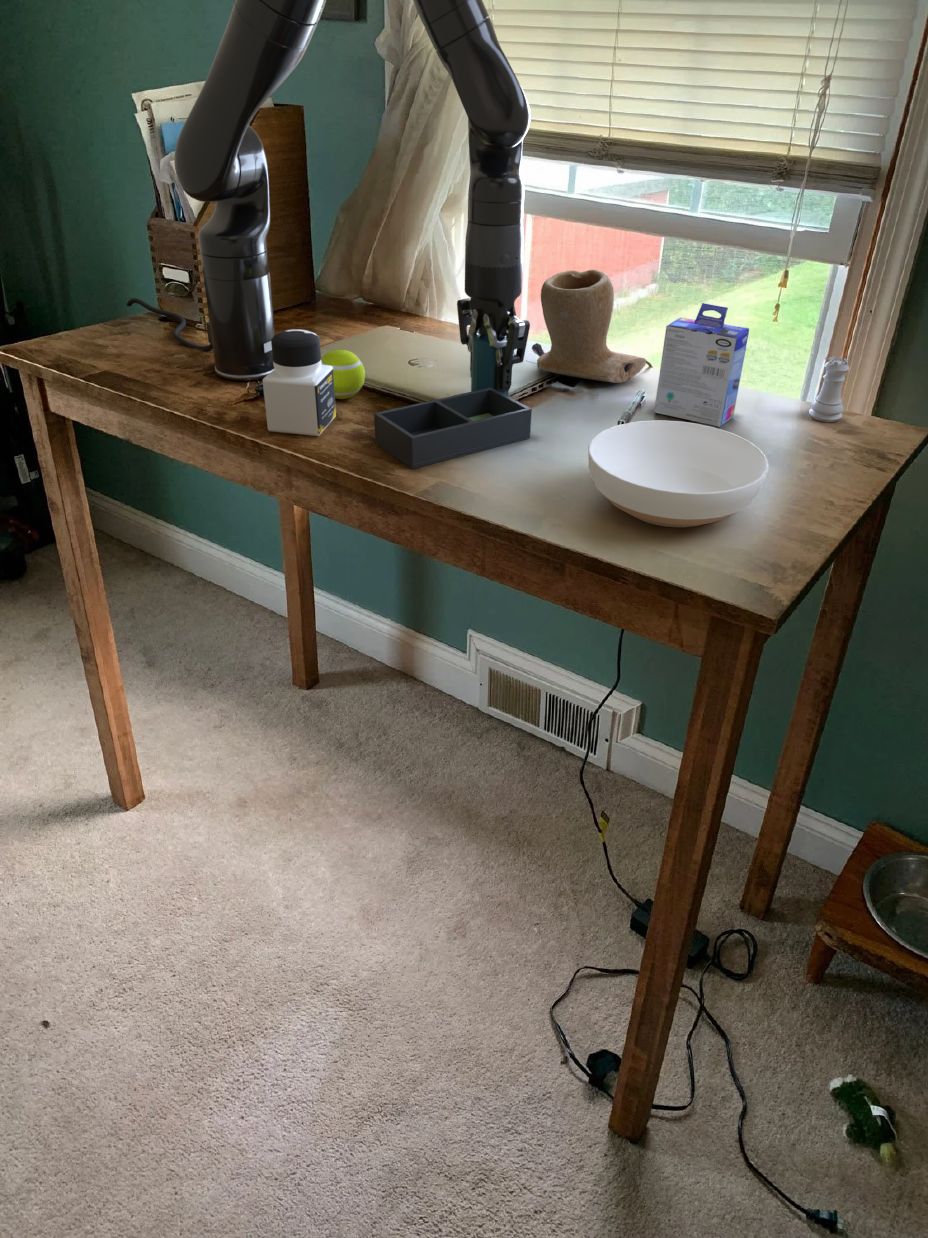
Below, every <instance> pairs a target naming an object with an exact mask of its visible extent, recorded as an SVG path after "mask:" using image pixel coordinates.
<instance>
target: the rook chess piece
mask: <svg viewBox="0 0 928 1238" xmlns="http://www.w3.org/2000/svg"><path fill="white" fill-rule="evenodd" d="M823 366H824V369H825V374H824V375H823V376H822V377H823V382H822V386H821V389H820V392H819V393H818V395H817V396H816V397H815V399H814V400H813V401H812V402H811V403H810V407H811V408H810V409H809V410H808V412H809V416H810V417H811V418H812V419H814V420H816V421H818V422H822V423H835V422H838V421H839V420H841V419H842V418H843V414H842V412H843V411H844V409H845V406H844V404H843V403H842V402H843V400H842V389H843V383H844V382H845V380H846V378H845V375H846V373H847V372H848V371H849V370H850V369H851V367H850V366H849V359H848V358H843V357H842V356H838V359H837V357H836V356H831V357H828V359H827V362H825V364H824V365H823Z"/></svg>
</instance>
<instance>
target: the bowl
mask: <svg viewBox="0 0 928 1238" xmlns="http://www.w3.org/2000/svg"><path fill="white" fill-rule="evenodd" d="M587 448H588V452H587V454H588V455H587V456H588V469H589V470H588V471H589V473H590V476H591V480H592V482H593V485H594V486H595V488H596V489H597V490H598V491H599V493H600V494H601V495H603V496H604V498H606V499H607V500H608V502H610V503H611V505H613V506H615V507H616V508H618V509H619V510H620V511H622V512H625V513H626V514H629V515H631V516H632V517H634V518H636V519H638V520H640V521H642V522H645V523H648V524H651V525H655V526H661V527H667V528H692V527H698V526H703V525H706V524H712V523H716V522H720V521H722V520H724V519H728V518H729V517H731V516H733V515H735V514H737V513H739V512H740V511H742V510H745V509H746V508H747V507H748V506H750V505H751V504H752V503H753V501H754V500H755V498H756V497H757V496H758V494H759V492H760V491H761V489H762V488H763V486H764V485H765V481H766V478H767V475H768V473H769V466H770V463H769V460H768V458H767V456H766V455H765V453H764V452H763V451H762V450H761V449H760V448H759V447H758V446H756V445H755V444H753V442H751V441H750V440H748V439H745V438H744V437H742V436H740V435H738V434H735V433H733V432H730V431H727V430H724V429H721V428H719V427H715V426H711V425H707V424H702V423H697V422H696V423H695V422H686V421H680V420H679V421H678V420H641V421H640V420H639V421H631V422H627V423H623V424H622V423H621V424H617V425H614V426H612V427H608V428H607V429H604V430H602V431H601V432H599V433H598V434H596V436H594V437H593V438H592V439H591V440H590V443H589V444H588V447H587Z"/></svg>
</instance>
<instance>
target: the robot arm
mask: <svg viewBox="0 0 928 1238" xmlns="http://www.w3.org/2000/svg"><path fill="white" fill-rule="evenodd" d="M412 1H413V4H414V6H415V9H416V12H417V14H418V17H419V18H420V21H421V23H422V25H423V27H424V30H425V32H426V34H427V36H428V38H429V40H430V42H431V44H432V46H433V48H434V50H435V52H436V53H435V54H437V56H438V58H439V60H440V62H441V64H442V66H443V67H444V68H445V70H446V71H447V72H448V74H449V76H450V78H451V81H452V83H453V85H454V88H455V90H456V92H457V95H458V97H459V100H460V102H461V105H462V107H463V109H464V112H465V113H466V117H467V133H468V154H469V155H468V157H469V181H468V189H467V190H468V192H467V226H466V233H465V242H464V243H465V244H464V245H465V247H464V249H465V250H464V293H465V295H466V296H467V298H462V299H458V300H457V301H456V310H457V319H458V329H459V339H460V343H461V345H466V347H467V351H468V353H470V358H469V359H470V360H469V362H470V364H469V371H470V372H471V371H472V337H473V336H474V335H478V334H481V335H486V336H487V337H488V340H489V343H490V348H491V349H493V350H494V355H495V361H496V365H495V388H494V389H495V390H497V391H498V392H500V393H501V392H505V391H508V390H509V391H510V390H511V387H512V378H513V367H514V365H517V364H521V363H523V362H524V359H525V353H526V349H527V345H528V339H529V335H530V334H529V333H530V328H531V323H530V321H529V319H525V320H521V319H519V318H518V317H517V312H516V307H515V302H516V301H517V299H518V298H519V297H520V296H521V294H522V289H523V269H524V246H525V235H524V204H525V182H524V176H523V172H522V161H523V160H522V158H523V143H524V138H525V136H526V135H527V133H528V131H529V127H530V123H531V108H530V105H529V104H530V103H529V102H528V99H527V97H526V94H525V91H524V90H523V87H522V86H521V84H520V81H519V80H518V77H517V76H516V74H515V71H514V70H513V68H512V66H511V64H510V62H509V60H508V59H507V58H508V57H507V56H506V54H505V52H504V51H503V49H502V47H501V45H500V43H499V39H498V37H497V33H496V31H495V28H494V25H493V22H492V20H491V17H490V15H489V13H488V10H487V8H486V6H485V4H484V1H483V0H412ZM326 3H327V0H235V1H234V3H233V6H232V9H231V13H230V15H229V19H228V22H227V24H226V27H225V30H224V32H223V35H222V37H221V39H220V41H219V45H218V47H217V50H216V53H215V55H214V58H213V60H212V64H211V67H210V69H209V71H208V74H207V77H206V79H205V81H204V83H203V86H202V88H201V90H200V92H199V94H198V96H197V98H196V100H195V102H194V104H193V105H192V108H191V110H190V112H189V114H188V116H187V118H186V120H185V122H184V124H183V126H182V128H181V129H180V132H179V134H178V136H177V137H178V138H177V139H176V140H177V141H176V144H175V147H174V155H173V156H174V157H173V159H174V160H173V163H174V171H175V175H176V179H177V181H178V183H179V185H180V187H181V189H182V190H183V191H184V193H185V194H186V195H188V196H189V197H190V198H192V199H194V200H196V201H199V202H204V203H215V207H214V210H213V212H212V214H211V216H210V218H209V219H208V220H207V221H206V222H205V223H204V225H202V226H201V227H200V229H199V230H198V235H197V241H198V247H199V249H198V250H199V255H200V261H201V269H202V275H203V276H202V277H203V283H204V290H205V300H206V306H207V307H206V308H207V313H208V320H209V321H207V322H205V325H206V326H205V327H206V332H207V339H208V343H209V344H208V345H199V344H195V343H192V342H191V341H188V340H187V339H186V338H184V337H182V336H181V335H179V333H180V332H181V331H183V329H185V327H186V325H187V321H186V319H185V318H184V317H183V316H182V315H180V314H178V313H175V312H171V311H168V310H163V309H160V308H156V307H154V306H152V305H151V304H149V303H147V302H146V301H144V300H142V299H140V298H138V297H132V298H130V299H128V301H127V302H126V307H132V306H133V304H137V305H140V306H141V307H143V308H144V309H146V310H149V311H150V312H151V313H155V314H158V315H160V316H164V317H169V318H172V319H175V320H177V321H179V322H180V323H179V324H178V325H177V326H176V327H175V328H174V330H173V331H172V337H173V338H174V340H175V341H177V342H178V343H180V344H181V345H183V346H185V347H188V348H191V349H196V350H200V351H204V352H205V351H206V352H210V351H213V352H212V354H213V359H214V372H215V374H216V375H217V376H218V377H220V378H222V379H225V380H231V381H239V382H241V381H242V382H243V381H245V382H246V381H247V382H248V381H256V380H263V379H264V378H265V377H266V376H267V375H268V374H269V373H270V372H271V371H273V370H274V369H275V368H274V364H273V354H272V344H271V339H272V338H273V336H274V335H276V334H277V333H276V325H275V315H274V306H273V305H274V304H273V293H272V283H271V274H270V273H271V272H270V263H269V255H268V254H269V253H268V244H267V243H268V240H267V239H268V234H269V231H270V228H271V206H270V205H271V203H270V184H269V181H270V180H269V167H268V159H267V156H266V155H267V154H266V151H265V148H264V144H263V142H262V140H261V138H260V136H259V135H258V133H257V132H256V130H255V129H254V128H253V127H252V126H251V125H250V123H251V122H252V120H253V118H254V117H255V115H256V114H257V113H258V111H259V110H260V108H261V107H262V106H263V105H264V104H265V103H266V101H268V99H269V98H270V97H271V96H272V95H273V94H274V93H275V92H276V91H277V89H279V88H280V86H281V85H282V84H283V83H284V82H285V81H286V80H287V79H288V77H289V76H290V75H291V74H292V73H293V71H294V70H295V69H296V68H297V66H298V65H299V63H300V62H301V61H302V59H303V57H304V55H305V53H306V51H307V49H308V47H309V45H310V42H311V40H312V37H313V35H314V33H315V31H316V29H317V27H318V24H319V21H320V19H321V16H322V14H323V12H324V8H325V5H326ZM468 326H469V327H468ZM468 328H469V329H468ZM505 336H506V340H505V341H501V342H499V341H498V340H497V339H499V338H504V337H505ZM504 346H506V349H505V354H504V356H503V355H502V350H501V348H502V347H504ZM515 350H516V352H515Z"/></svg>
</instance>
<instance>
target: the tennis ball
mask: <svg viewBox="0 0 928 1238" xmlns="http://www.w3.org/2000/svg"><path fill="white" fill-rule="evenodd" d="M321 365H330V366H332V367H333V376H334V392H335V400H346V399H350V398H352V397H354V396H356V394H358V393H359V392H360V390H361V389H362V388H363V385H364V384H365V380H366V371H365V367H364V363H362V361H361V359H360V358H359V357H358V355H356V354H355V353H353V352H352V351H351V350H347V349H342V348H341V349H333V350H331V351H329V352H327V353H325V354H324V355H323V356H321Z"/></svg>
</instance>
